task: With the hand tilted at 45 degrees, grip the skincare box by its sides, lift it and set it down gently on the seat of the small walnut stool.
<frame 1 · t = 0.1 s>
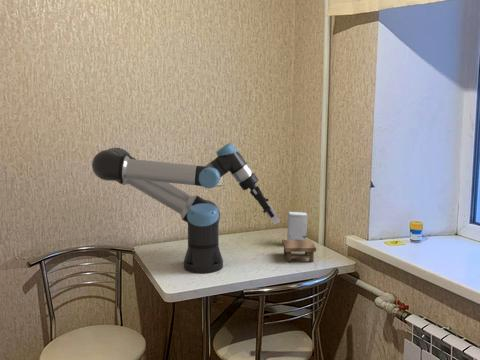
hand: (275, 219, 179), 15 cm above the table, tool tilted 35°, fingers open, 13 cm apart
stool: (298, 258, 178), on the table
skincare box: (296, 245, 195), on the table
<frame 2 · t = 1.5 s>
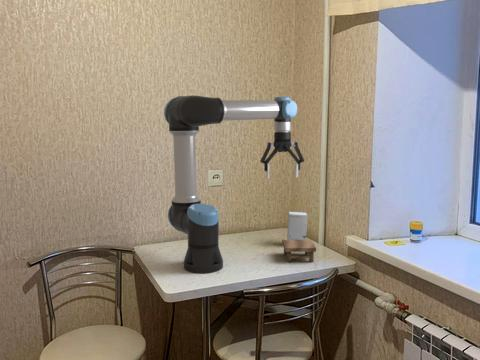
hand: (282, 177, 201), 29 cm above the table, tool pointing down, fingers open, 13 cm apart
nothing on the table moved.
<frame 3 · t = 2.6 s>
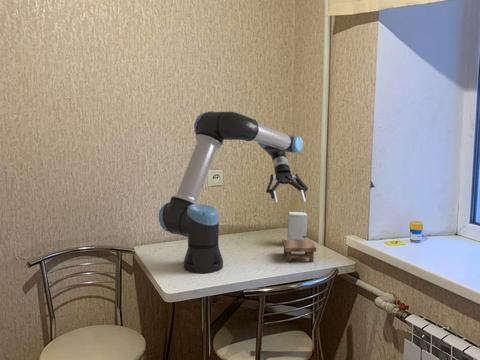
hand: (290, 203, 203), 17 cm above the table, tool tilted 45°, fingers open, 13 cm apart
nothing on the table moved.
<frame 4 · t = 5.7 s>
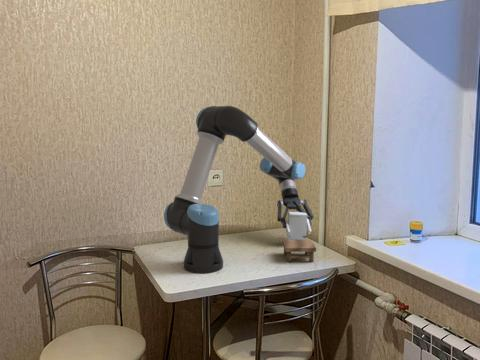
hand: (299, 233, 191), 6 cm above the table, tool tilted 45°, fingers closed on skincare box, 9 cm apart
skincare box: (296, 245, 195), on the table, touching gripper
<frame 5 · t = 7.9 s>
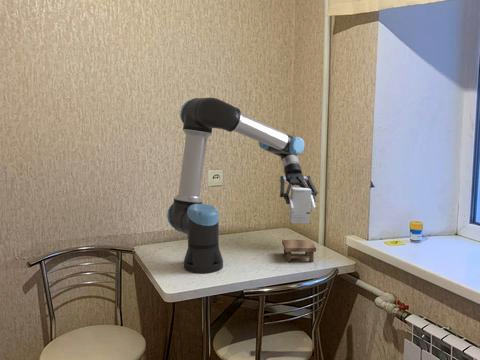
hand: (303, 209, 183), 19 cm above the table, tool tilted 45°, fingers closed on skincare box, 9 cm apart
skincare box: (299, 222, 187), point 12 cm above the table, touching gripper
when the fingers open (14 cm above the table, at t = 10.2 s): skincare box drops 1 cm, resting on stool.
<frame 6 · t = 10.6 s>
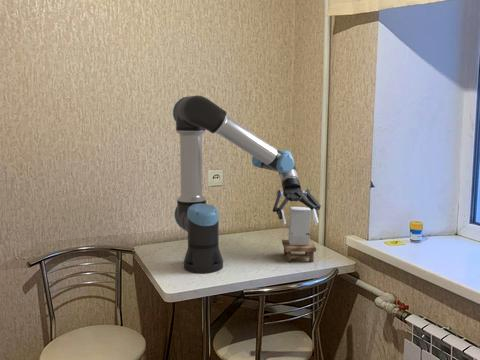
hand: (301, 224, 173), 14 cm above the table, tool tilted 45°, fingers open, 13 cm apart
skincare box: (299, 244, 177), point 6 cm above the table, touching stool
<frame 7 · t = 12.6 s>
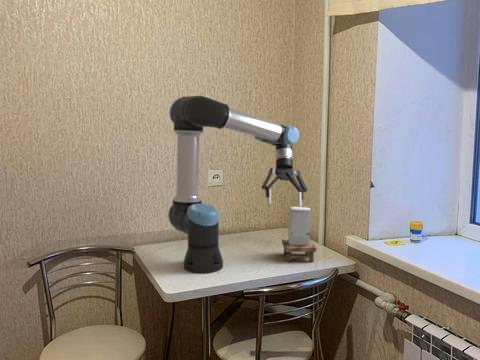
hand: (284, 205, 188), 19 cm above the table, tool tilted 30°, fingers open, 13 cm apart
nothing on the table moved.
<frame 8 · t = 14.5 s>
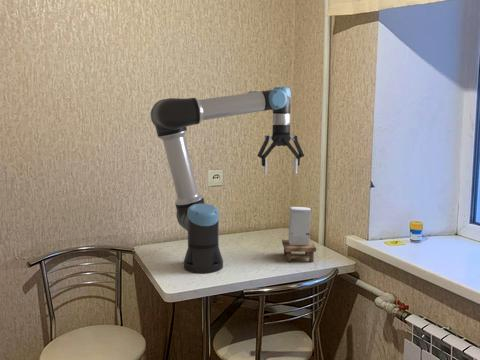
hand: (280, 173, 189), 33 cm above the table, tool pointing down, fingers open, 13 cm apart
nothing on the table moved.
at the end: skincare box 0.3 cm from the stool (horizontally); skincare box touching stool; skincare box tilted 0° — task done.
